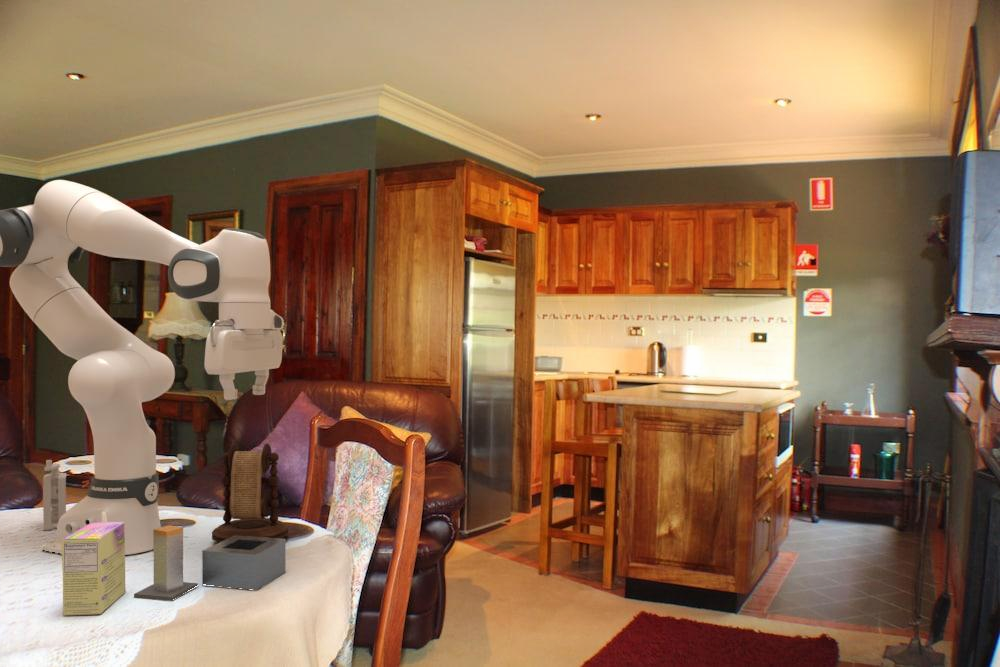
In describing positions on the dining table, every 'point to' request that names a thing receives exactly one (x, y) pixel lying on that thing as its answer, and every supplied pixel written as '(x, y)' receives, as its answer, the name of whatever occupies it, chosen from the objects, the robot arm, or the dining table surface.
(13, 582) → the dining table surface
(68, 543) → the box
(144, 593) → the mat
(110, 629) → the dining table surface
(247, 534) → the scroll
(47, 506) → the white pump bottle
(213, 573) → the square frame
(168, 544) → the orange tipped grey block
